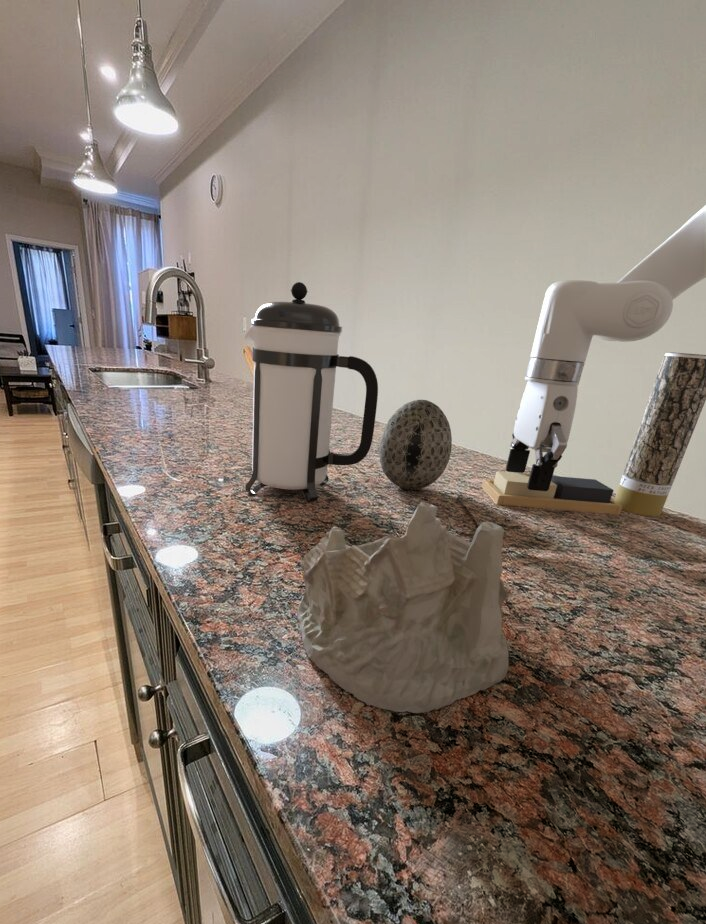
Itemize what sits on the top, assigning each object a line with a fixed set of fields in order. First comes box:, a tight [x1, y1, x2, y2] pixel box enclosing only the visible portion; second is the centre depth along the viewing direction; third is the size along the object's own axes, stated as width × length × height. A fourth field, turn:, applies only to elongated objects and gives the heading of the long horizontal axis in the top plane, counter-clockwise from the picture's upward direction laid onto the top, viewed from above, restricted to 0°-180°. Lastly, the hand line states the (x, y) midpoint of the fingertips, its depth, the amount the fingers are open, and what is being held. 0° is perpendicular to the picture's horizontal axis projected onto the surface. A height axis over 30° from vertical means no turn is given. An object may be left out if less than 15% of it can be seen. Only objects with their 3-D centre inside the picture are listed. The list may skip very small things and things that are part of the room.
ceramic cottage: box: [296, 501, 512, 714], centre depth 36 cm, size 16×16×15 cm
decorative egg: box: [378, 399, 453, 491], centre depth 75 cm, size 12×12×15 cm
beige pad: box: [493, 470, 557, 499], centre depth 74 cm, size 8×6×4 cm
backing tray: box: [481, 478, 623, 516], centre depth 75 cm, size 20×9×2 cm, turn 88°
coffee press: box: [243, 281, 379, 503], centre depth 67 cm, size 17×16×30 cm
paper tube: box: [613, 351, 706, 517], centre depth 70 cm, size 7×7×25 cm
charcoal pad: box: [551, 475, 615, 503], centre depth 74 cm, size 8×6×4 cm
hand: (525, 480), depth 74 cm, fingers open, 9 cm apart
